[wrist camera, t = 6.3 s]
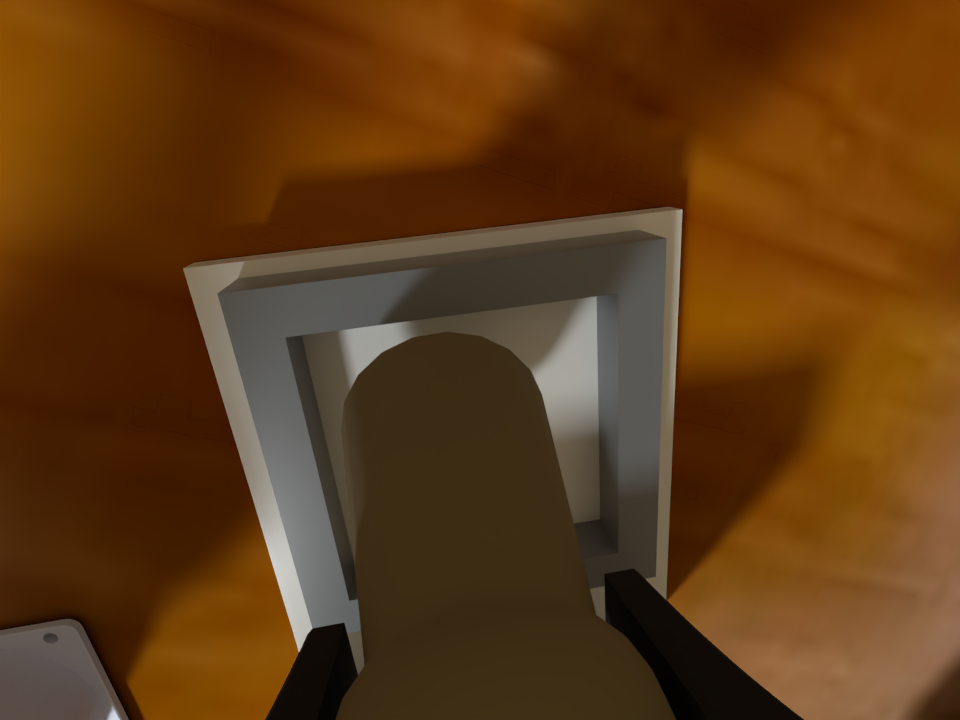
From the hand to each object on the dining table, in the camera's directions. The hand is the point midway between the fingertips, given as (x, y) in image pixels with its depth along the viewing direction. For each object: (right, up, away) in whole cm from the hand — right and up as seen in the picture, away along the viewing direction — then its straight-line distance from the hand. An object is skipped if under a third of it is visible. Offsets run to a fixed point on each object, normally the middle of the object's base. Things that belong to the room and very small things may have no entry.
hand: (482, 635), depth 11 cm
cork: (-1, +4, +6) cm, 7 cm away
